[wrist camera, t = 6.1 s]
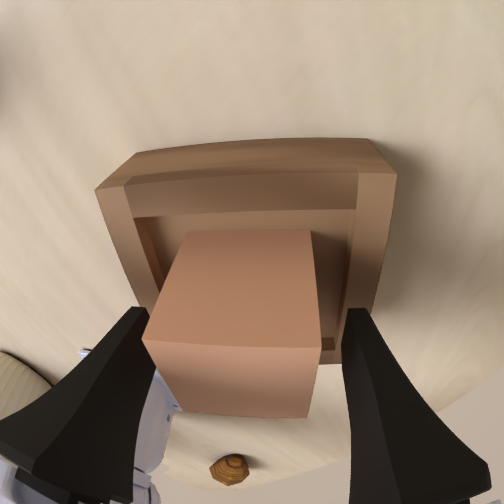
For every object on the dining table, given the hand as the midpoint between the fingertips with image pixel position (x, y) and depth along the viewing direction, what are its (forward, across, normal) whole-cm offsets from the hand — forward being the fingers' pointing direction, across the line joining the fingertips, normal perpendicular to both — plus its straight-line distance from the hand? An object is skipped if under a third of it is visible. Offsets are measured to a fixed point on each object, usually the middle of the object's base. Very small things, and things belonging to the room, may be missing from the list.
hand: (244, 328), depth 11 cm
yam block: (+2, 0, 0) cm, 2 cm away
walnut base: (+5, 0, 0) cm, 5 cm away
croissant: (+6, +8, +44) cm, 45 cm away
